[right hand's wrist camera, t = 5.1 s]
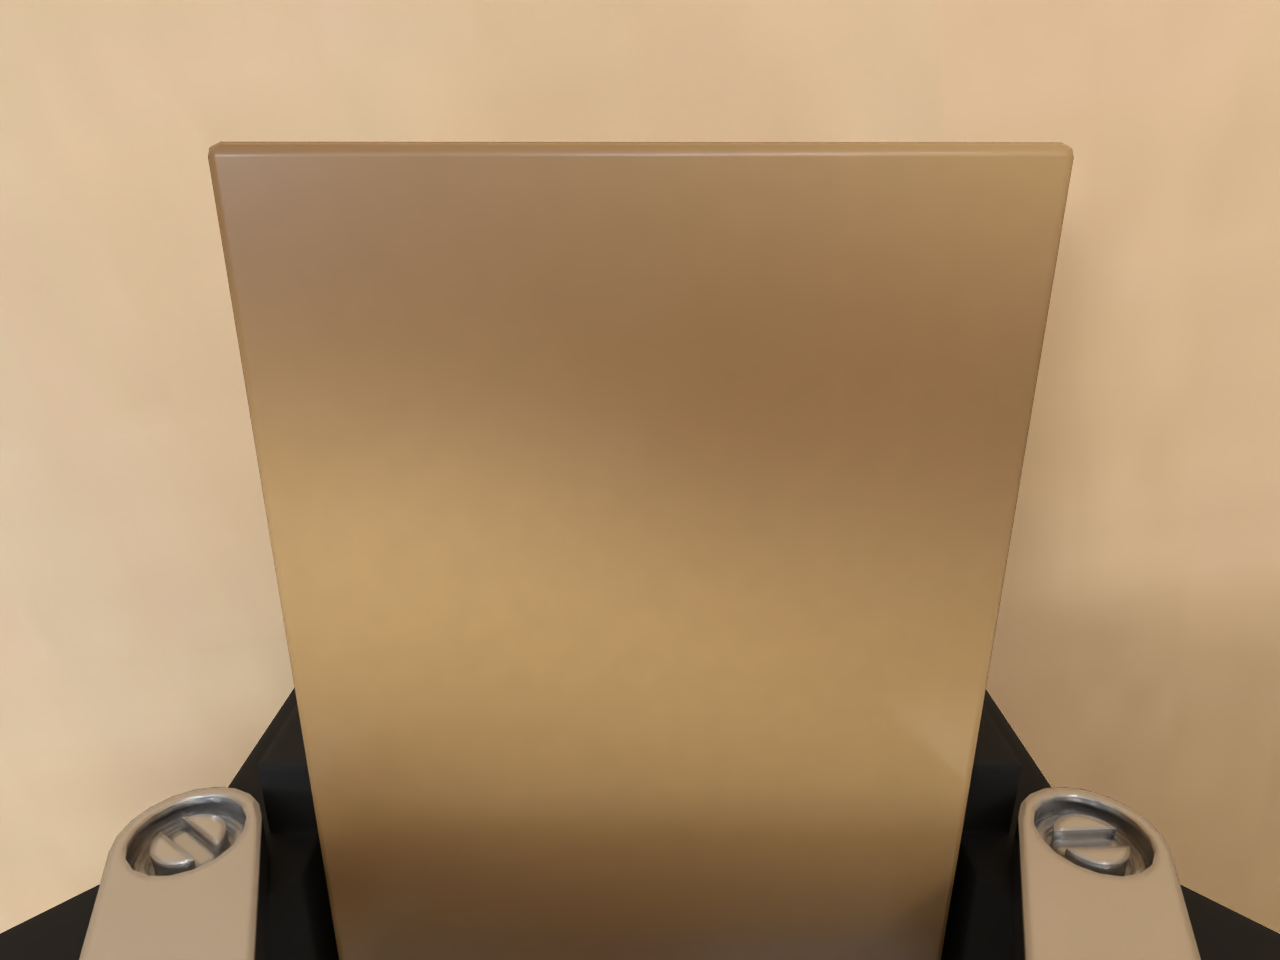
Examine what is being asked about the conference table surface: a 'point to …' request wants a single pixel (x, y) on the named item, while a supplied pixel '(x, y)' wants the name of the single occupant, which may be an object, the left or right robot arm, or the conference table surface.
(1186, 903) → the right robot arm
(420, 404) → the beam
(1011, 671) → the conference table surface
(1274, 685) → the conference table surface
